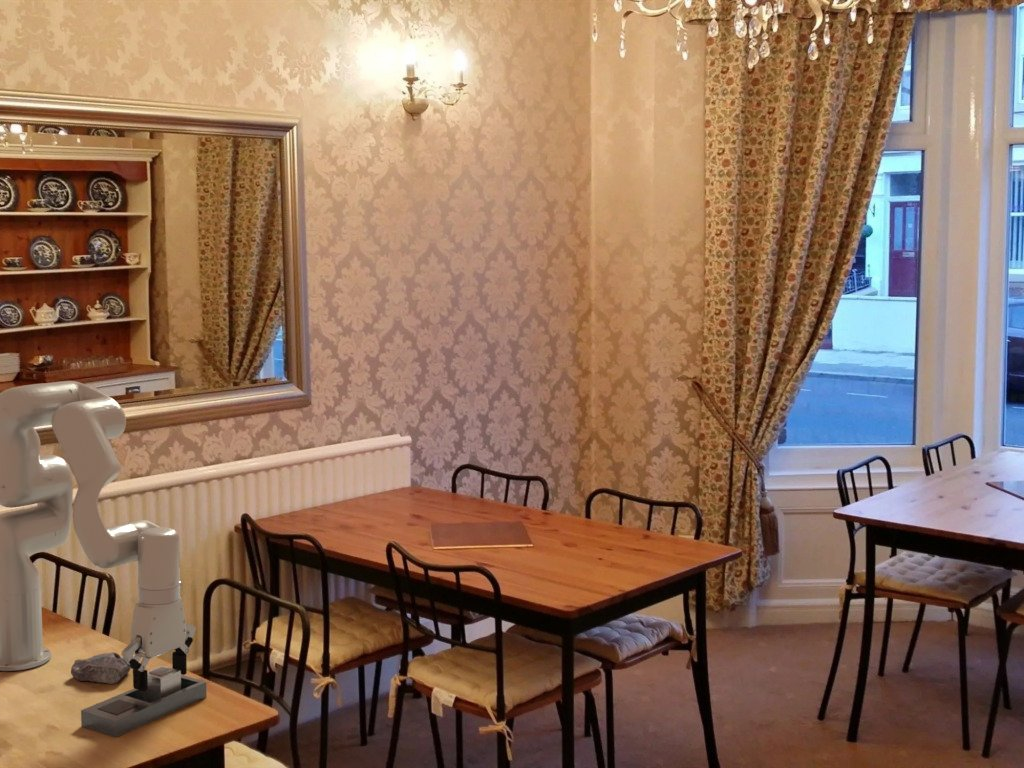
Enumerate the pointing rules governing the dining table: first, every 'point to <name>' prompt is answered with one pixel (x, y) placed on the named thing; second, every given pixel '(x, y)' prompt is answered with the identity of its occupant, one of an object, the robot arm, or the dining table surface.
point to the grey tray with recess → (138, 708)
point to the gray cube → (162, 683)
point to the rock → (100, 668)
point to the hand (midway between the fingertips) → (160, 681)
